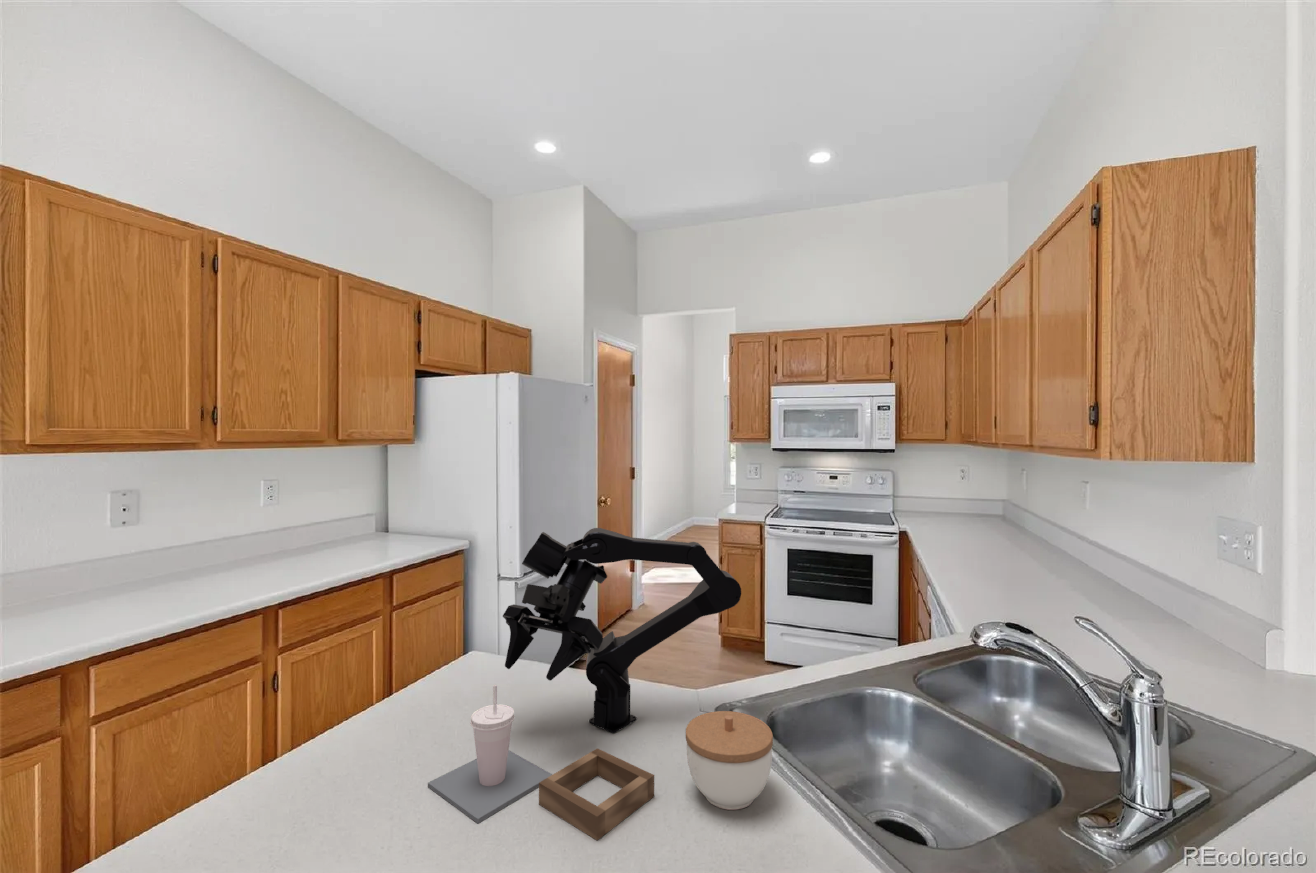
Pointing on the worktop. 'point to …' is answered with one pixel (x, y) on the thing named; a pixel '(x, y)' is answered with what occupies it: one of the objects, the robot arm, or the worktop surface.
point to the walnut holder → (608, 813)
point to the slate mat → (488, 787)
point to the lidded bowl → (729, 757)
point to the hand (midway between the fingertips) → (526, 673)
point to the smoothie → (492, 740)
